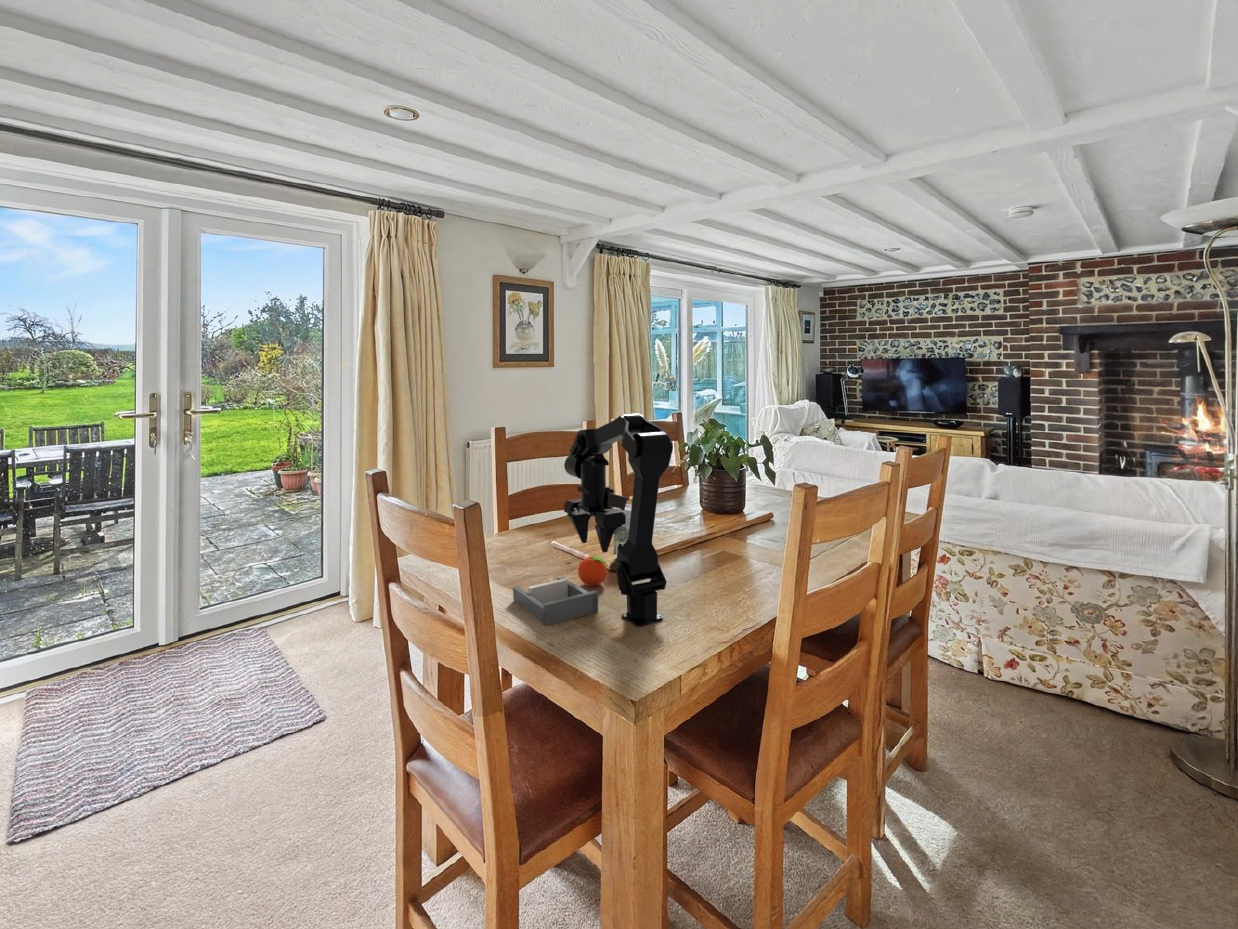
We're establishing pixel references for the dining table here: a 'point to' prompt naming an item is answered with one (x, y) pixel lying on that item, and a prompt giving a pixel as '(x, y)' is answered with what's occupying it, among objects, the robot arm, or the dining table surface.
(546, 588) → the pusher paddle
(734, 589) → the dining table surface
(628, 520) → the syrup box
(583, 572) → the clementine
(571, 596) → the grey shallow tray
